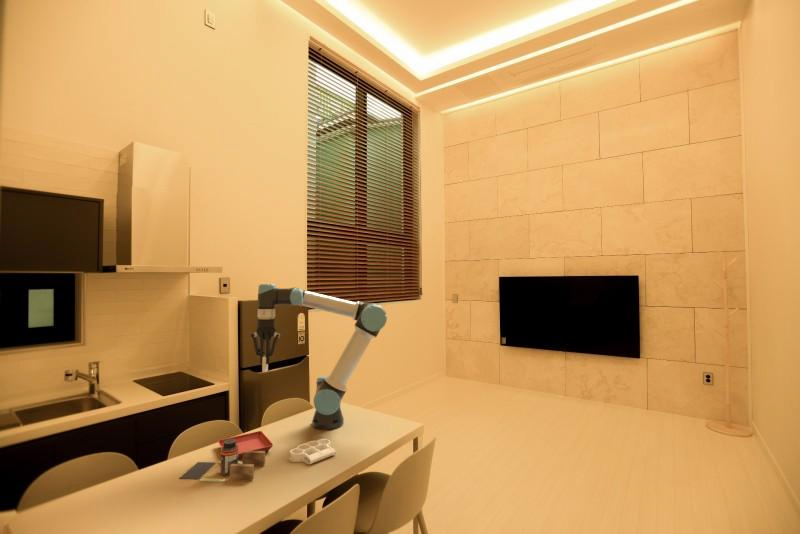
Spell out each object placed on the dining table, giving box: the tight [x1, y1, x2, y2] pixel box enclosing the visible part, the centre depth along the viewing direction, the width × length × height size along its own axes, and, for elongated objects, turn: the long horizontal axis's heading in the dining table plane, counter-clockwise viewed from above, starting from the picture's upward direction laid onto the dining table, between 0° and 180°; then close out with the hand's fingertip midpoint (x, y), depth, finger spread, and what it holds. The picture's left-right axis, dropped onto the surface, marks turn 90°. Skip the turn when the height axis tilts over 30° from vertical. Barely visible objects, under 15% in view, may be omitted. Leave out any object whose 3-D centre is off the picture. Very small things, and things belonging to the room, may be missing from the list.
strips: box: [198, 460, 243, 483], centre depth 141 cm, size 8×14×1 cm, turn 178°
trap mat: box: [178, 461, 217, 480], centre depth 141 cm, size 7×12×1 cm, turn 178°
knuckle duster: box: [289, 438, 336, 465], centre depth 155 cm, size 3×18×15 cm
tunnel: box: [228, 451, 266, 482], centre depth 140 cm, size 8×12×5 cm, turn 178°
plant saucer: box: [217, 430, 274, 460], centre depth 159 cm, size 18×18×3 cm
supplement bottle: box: [220, 439, 239, 476], centre depth 140 cm, size 6×6×11 cm
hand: (264, 371), depth 171 cm, fingers closed
